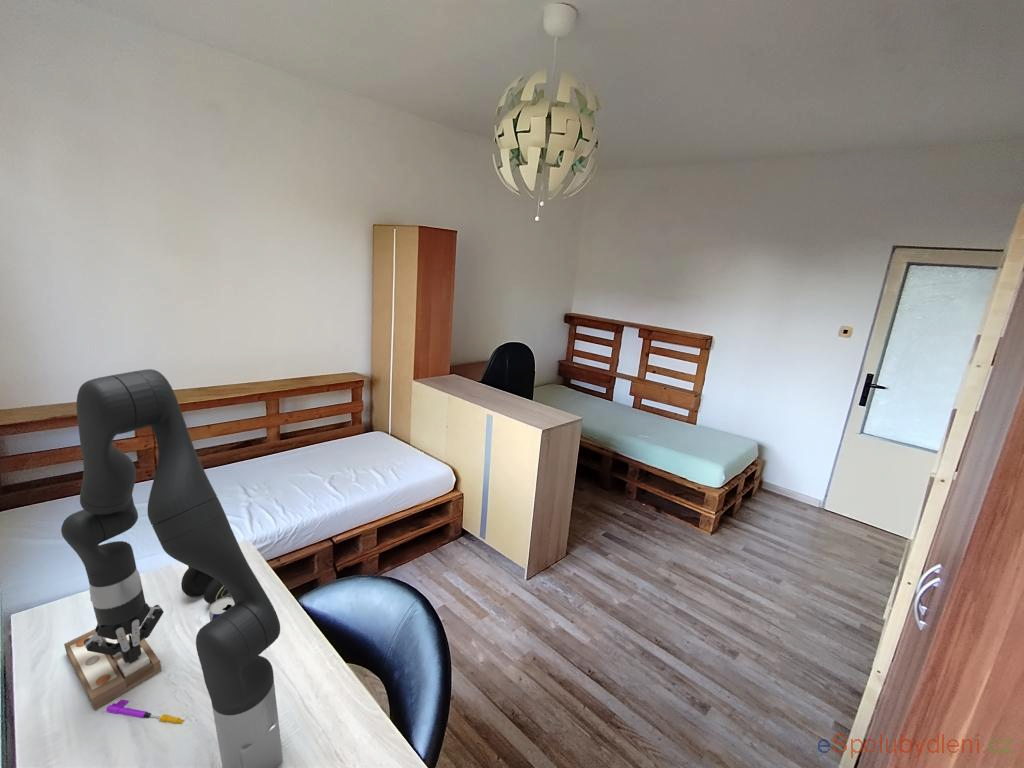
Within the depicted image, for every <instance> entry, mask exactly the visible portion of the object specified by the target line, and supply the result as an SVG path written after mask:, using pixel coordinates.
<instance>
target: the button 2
mask: <svg viewBox="0 0 1024 768" xmlns="http://www.w3.org/2000/svg"><path fill="white" fill-rule="evenodd" d="M138 658H139V659H138V660H136V661H134V662H132V663H131V664H130V663H129V662H127V663H125V662H124V660H123V658H121V659H120V660H118V661H117V662H118V666H119V670H120V673H121V674H122V676H123V678H126V677H128V676H129V675H131V674H133V673H135V672H136V671H138V670H140V669H142V668H143V667H145V666H147V665H149V664H150V660H149V657H148V656H147V654H146V653H145V651H144V650H143V648H141V655H140V656H138Z"/></svg>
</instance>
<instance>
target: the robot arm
mask: <svg viewBox="0 0 1024 768" xmlns="http://www.w3.org/2000/svg"><path fill="white" fill-rule="evenodd" d="M76 417H77V418H76V419H77V427H78V435H79V443H80V449H81V456H82V463H83V474H82V475H83V476H82V481H81V489H80V495H79V504H80V506H81V508H82V510H79V511H77V512H73V513H71V514H70V515H68V516H67V517H66V518H65V519H64V521H63V522H62V525H61V529H60V532H61V536H62V538H63V539H64V540H65V541H66V543H67V544H68V545H69V547H71V548H72V549H73V551H74V552H75V553H76V554H77V555H78V557H79V559H80V561H81V562H82V564H83V565H84V569H85V572H86V575H87V579H88V583H89V596H90V599H89V600H90V601H91V604H92V607H93V612H94V615H95V618H96V622H97V624H96V626H95V628H94V629H95V631H96V633H95V634H94V635H93V636H92V637H91V638H88V639H86V640H85V641H84V645H85V647H86V649H87V651H91V652H96V653H101V654H106V655H112V656H113V655H115V654H117V653H118V652H121V655H122V658H123V660H124V662H125V663H127V662H129V663H130V664H131V663H132V662H134V661H136V660H138V659H139V658H138V656H140V655H141V648H140V641H141V640H142V639H145V640H146V639H147V638H149V637H150V635H151V634H152V632H153V630H154V629H155V628H156V626H157V624H158V622H159V621H160V619H161V618H162V615H164V610H163V609H162V607H161V606H160V605H159V604H156V605H153V606H149V604H148V603H147V602H146V598H145V594H144V589H143V584H142V580H141V576H140V572H139V570H138V568H137V564H136V559H135V554H134V550H133V547H132V545H131V544H130V543H129V542H127V541H123V540H119V541H118V540H117V541H111V542H107V543H103V542H106V541H108V540H110V539H113V538H115V537H116V536H117V537H118V536H120V535H121V534H123V533H126V532H127V531H129V530H130V529H132V528H133V527H134V526H135V525H136V523H137V522H138V519H139V514H138V510H137V508H136V506H135V503H134V498H133V491H134V487H135V484H136V479H137V478H136V477H137V468H136V466H135V463H134V462H133V460H132V459H131V458H130V457H129V456H128V455H127V454H126V453H125V452H123V451H122V450H120V449H119V448H118V447H116V446H115V445H114V444H113V440H114V439H115V437H116V436H117V435H122V434H123V435H124V434H126V433H130V432H133V431H134V432H135V431H137V430H140V429H144V428H147V427H150V428H151V429H152V432H153V434H154V437H155V441H156V446H157V449H158V452H157V453H158V458H157V466H156V470H155V473H154V479H153V481H152V484H151V488H150V493H149V496H148V497H149V498H148V502H147V511H146V512H147V517H148V520H149V523H150V525H151V526H152V527H151V528H152V529H153V530H154V534H155V535H156V537H157V539H158V542H159V543H160V545H161V547H162V549H163V551H164V552H165V553H166V554H167V555H168V556H169V557H171V558H173V559H174V560H175V561H178V562H180V563H182V564H184V565H186V566H187V567H188V566H190V567H192V568H195V569H197V570H199V571H202V572H204V573H206V574H208V575H210V576H211V577H213V578H215V579H216V580H218V581H219V582H220V583H221V584H222V585H223V586H224V587H225V588H226V589H227V590H228V592H229V593H230V594H229V596H230V597H232V598H233V600H234V603H235V605H234V606H232V607H231V608H229V609H228V610H226V611H225V612H223V613H222V614H220V615H219V616H217V617H216V618H215V619H213V620H212V621H210V620H209V621H208V622H207V623H206V624H205V625H203V626H202V627H200V629H199V630H198V632H197V634H196V639H195V647H196V652H197V653H196V654H197V656H198V660H199V664H200V666H201V671H202V675H203V680H204V684H205V686H206V690H207V692H208V695H209V698H210V701H211V706H212V707H211V708H212V713H213V718H214V725H215V732H216V737H217V743H218V748H219V749H218V750H219V755H220V761H221V765H222V768H277V767H278V766H279V765H280V764H281V763H283V761H284V760H283V752H282V751H283V750H282V749H283V748H282V740H281V731H280V722H279V721H280V720H279V713H278V705H277V696H276V685H275V676H274V669H273V665H272V664H271V662H270V660H269V659H268V658H266V657H264V656H261V654H262V653H263V652H264V651H266V650H267V649H268V648H269V647H270V646H271V645H273V644H274V642H276V640H278V638H279V637H280V633H281V623H280V620H279V616H278V614H277V612H276V611H277V610H275V608H274V605H273V603H272V602H271V600H270V598H269V597H268V595H267V593H266V592H265V590H264V588H263V587H262V584H261V583H260V581H259V580H258V578H257V576H256V575H255V573H254V571H253V570H252V568H251V567H250V565H249V562H248V561H247V559H246V556H245V555H244V553H243V550H242V549H241V547H240V544H239V542H238V540H237V538H236V535H235V534H234V531H233V529H232V527H231V525H230V522H229V519H228V517H227V515H226V513H225V510H224V508H223V506H222V504H221V502H220V499H219V497H218V495H217V493H216V492H215V490H214V487H213V486H212V484H211V482H210V480H209V478H208V476H207V474H206V471H205V469H204V467H203V465H202V463H201V461H200V458H199V457H198V453H197V452H196V449H195V447H194V444H193V442H192V441H193V440H192V439H191V435H190V433H189V430H188V426H187V423H186V421H185V419H184V415H183V412H182V410H181V407H180V404H179V401H178V398H177V396H176V394H175V392H174V389H173V388H172V386H171V384H170V382H169V381H168V379H167V378H166V377H165V375H163V374H162V373H161V372H160V371H158V370H155V369H152V368H151V369H140V370H135V371H134V370H133V371H129V372H121V373H117V374H111V375H106V376H100V377H96V378H93V379H89V380H86V381H85V382H84V383H82V384H81V386H80V387H79V389H78V391H77V395H76ZM101 543H103V544H101ZM127 635H128V637H129V643H128V640H127V637H126V636H127ZM101 637H105V638H109V639H112V640H117V642H118V643H116V644H114V643H110V642H106V641H103V640H102V638H101Z"/></svg>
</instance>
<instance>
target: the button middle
mask: <svg viewBox="0 0 1024 768" xmlns="http://www.w3.org/2000/svg"><path fill="white" fill-rule="evenodd" d="M126 637H127V640H128V643H129V637H128V635H127V636H126ZM105 639H106V642H110V643H114V644H116V643H118V642H117V640H112V639H109V638H105ZM120 655H121V652H118V653H117V654H115V655H113V656H112V657H113V658H114V659H115V658H116V657H118V656H120Z"/></svg>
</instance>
